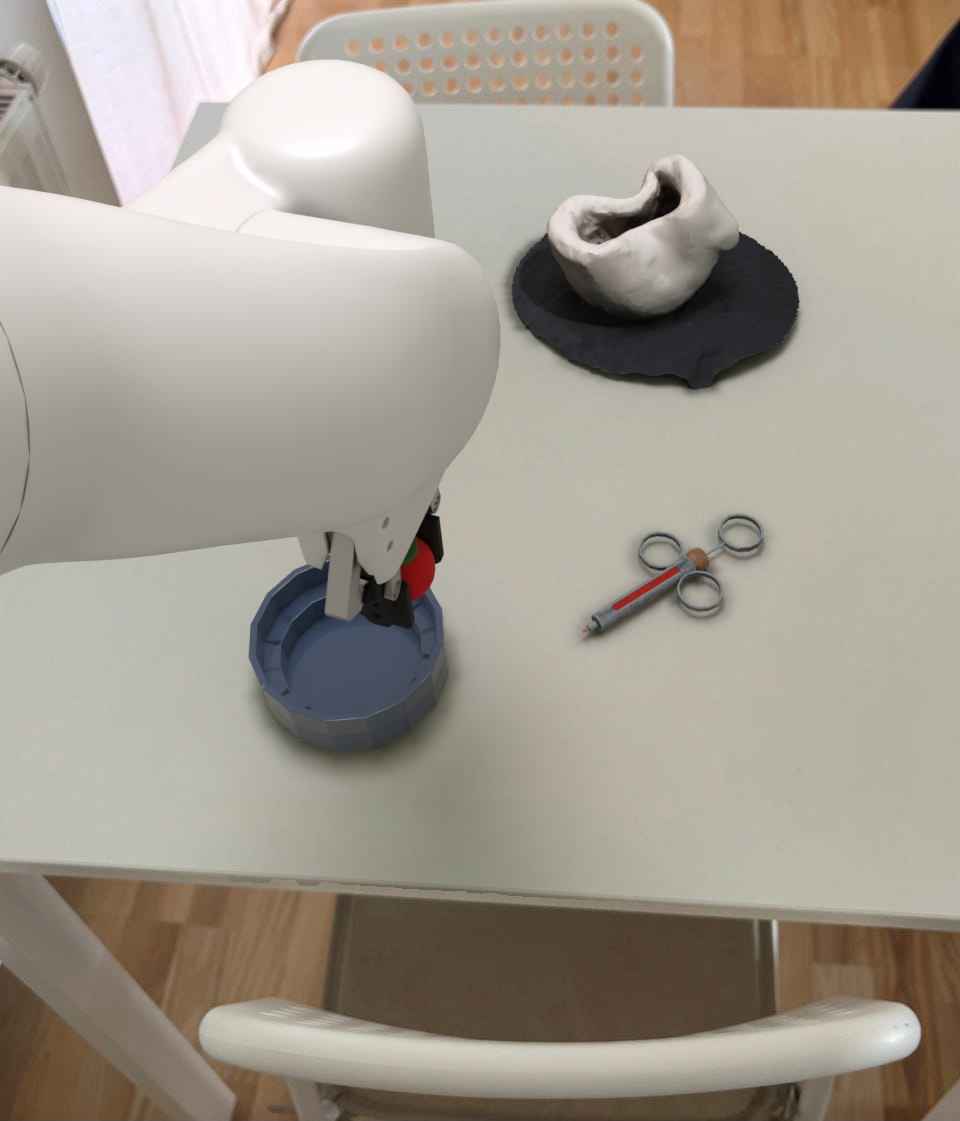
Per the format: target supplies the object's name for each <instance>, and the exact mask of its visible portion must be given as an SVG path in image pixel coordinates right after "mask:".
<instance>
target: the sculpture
mask: <svg viewBox="0 0 960 1121" xmlns="http://www.w3.org/2000/svg"><path fill="white" fill-rule="evenodd" d="M546 225H547V226H546V232H545V233H544V235H543V236H542V237H541V239H540V241H537V242H535V244H533V246H531V247H530V249H528V251H526V253H525V255H524V256H523V257H522V258H521V259H519V263H518V265H517V266H516V268H515V272H514V274H513V275H512V278H513V279H512V281H513V282H512V284H511V287H510V288H511V289H512V291H511V294H512V302H513V303H512V304H513V305H514V306H513V307H514V310H515V311H516V313H517V316H519V317H518V318H519V319H520V321H521V323H523V324H524V326H526V327H527V326H528V327H529V330H530V331H531V332H532V333H533V334H534V335H535V336H539V337H542V338H543V339H545V340H547V342H549V343H550V344H551V345H553V346H554V347H555V348H559V350H560V352H561V353H565V357H566V358H567V359H568V360H569V361H573V362H575V361H576V362H579V363H581V364H583V365H588V366H589V368H592V369H599V370H600V371H602V372H604V373H611V374H617V375H622V374H623V375H624V376H625V375H626V376H627V374H633V373H634V374H642V375H643V374H644V375H645V376H650V377H657V376H661V375H662V376H663V375H665V374H672V375H675V376H677V377H680V378H684V379H685V380H686V381H687V382H688V384H689V386H690V388H693V389H695V390H696V389H701V388H706V387H710V386H711V385H712V384H713V381H714V380H715V376H716V375H717V374H719V373H720V372H721V371H723V372H725V370H728V368H732V366H734V365H735V364H736V363H737V362H738V361H740V360H742V359H743V358H747V357H751V356H755V355H758V354H761V353H762V352H764V351H766V350H770V349H773V347H774V348H775V347H777V346H778V344H779V345H781V343H782V342H783V341H784V339H785V337H786V336H787V335H788V333H790V331H791V330H792V326H794V325H795V321H797V319H796V318H797V317H798V316H799V315H798V313H799V311H798V309H800V307H799V304H800V302H801V301H800V297H799V296H800V295H799V286H798V285H797V281H796V280H795V278H794V277H793V276H794V275H793V272H790V270H789V267H788V266H787V265H785V262H784V261H782V259H781V258H779V256H778V255H776V254H775V253H774V252H773V250H771V249H769V248H766V247H765V245H762V244H761V242H760V243H759V241H758V240H756V239H755V238H753V237H751V236H749V235H747V234H746V233H742V232H741V231H739V222H738V220H737V219H736V217H735V216H734V215H733V213H732V212H731V211H730V209H729V208H728V207H727V206H726V204H725V203H724V200H723V199H722V198H721V197H720V195H719V194H718V193H717V191H716V189H715V187H713V185H712V184H711V183H710V181H709V180H708V179H707V177H706V175H705V174H704V172H703V171H702V170H701V169H700V168H699V166H697V164H696V163H695V162H693V160H691V159H690V158H688V157H687V156H685V155H682V154H679V153H675V154H671V155H669V156H665V157H662V158H660V159H658V160H656V161H654V162H652V163H651V164H650V165H649V166H648V169H647V170H646V172H645V174H644V177H643V180H642V184H641V188H640V190H639V191H638V192H637V193H636V194H635V195H634V196H631V197H628V198H615V197H611V196H605V195H603V196H602V195H595V194H585V193H583V194H575V195H571V196H568V197H567V198H565V200H563V201H562V202H561V203H560V204H559V205H558V206H557V207H556V208H555V210H554V211H553V212H552V214H551V216H550V217H549V218H548V221H547V224H546Z"/></svg>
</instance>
